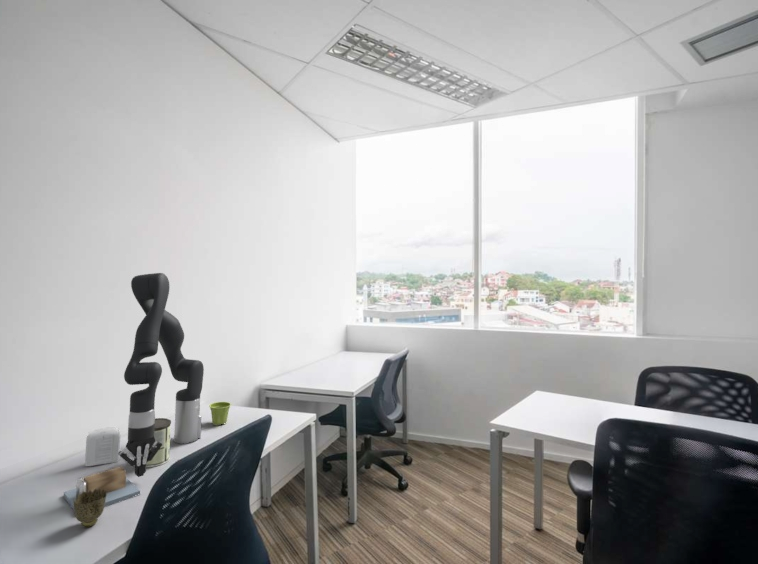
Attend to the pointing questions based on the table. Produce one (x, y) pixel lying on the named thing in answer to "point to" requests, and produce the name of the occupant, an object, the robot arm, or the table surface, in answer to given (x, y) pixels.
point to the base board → (108, 494)
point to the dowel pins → (80, 486)
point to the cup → (89, 506)
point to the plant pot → (219, 412)
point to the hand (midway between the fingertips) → (139, 475)
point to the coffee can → (164, 438)
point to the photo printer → (102, 446)
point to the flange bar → (106, 480)
